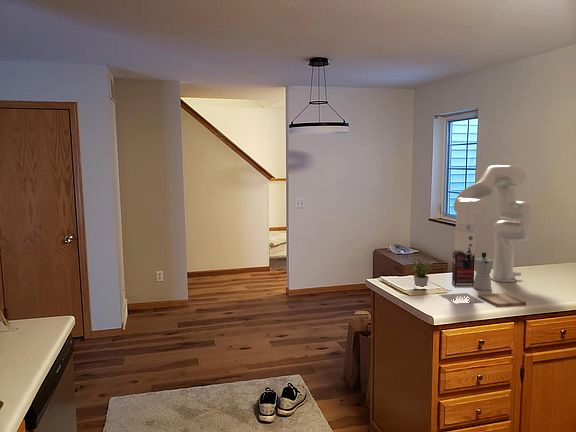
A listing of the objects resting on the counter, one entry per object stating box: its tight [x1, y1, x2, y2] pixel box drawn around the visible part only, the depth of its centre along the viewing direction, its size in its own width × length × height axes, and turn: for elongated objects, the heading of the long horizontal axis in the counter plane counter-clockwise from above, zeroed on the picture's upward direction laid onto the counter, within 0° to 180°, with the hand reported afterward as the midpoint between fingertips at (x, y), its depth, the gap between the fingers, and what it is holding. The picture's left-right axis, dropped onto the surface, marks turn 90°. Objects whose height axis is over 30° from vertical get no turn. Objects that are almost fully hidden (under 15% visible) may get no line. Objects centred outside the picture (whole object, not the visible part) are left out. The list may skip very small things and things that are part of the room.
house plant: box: [407, 256, 436, 287], centre depth 215 cm, size 14×14×16 cm
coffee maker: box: [473, 252, 494, 291], centre depth 216 cm, size 15×9×18 cm, turn 168°
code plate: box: [440, 292, 485, 304], centre depth 200 cm, size 14×14×1 cm
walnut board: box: [477, 292, 527, 308], centre depth 196 cm, size 14×14×1 cm
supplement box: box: [451, 251, 476, 289], centre depth 198 cm, size 9×5×16 cm, turn 85°
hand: (463, 266), depth 198 cm, fingers closed on supplement box, 5 cm apart
